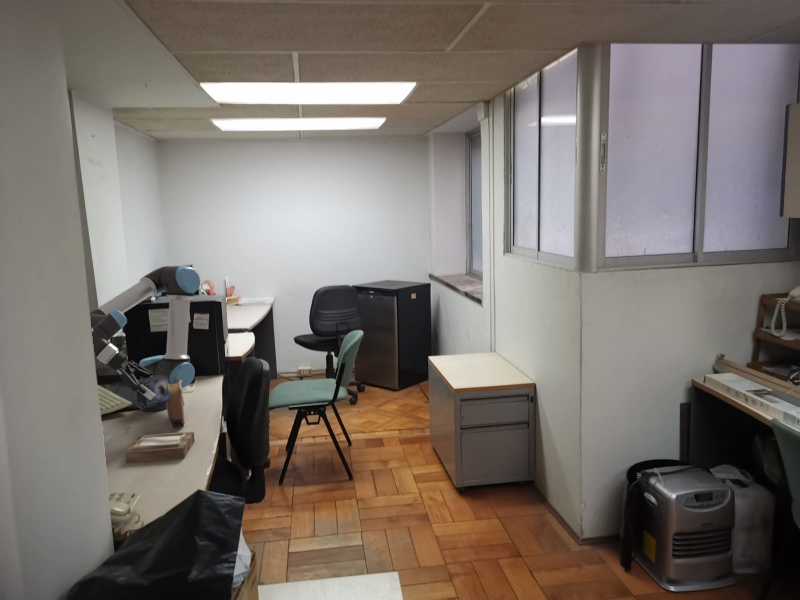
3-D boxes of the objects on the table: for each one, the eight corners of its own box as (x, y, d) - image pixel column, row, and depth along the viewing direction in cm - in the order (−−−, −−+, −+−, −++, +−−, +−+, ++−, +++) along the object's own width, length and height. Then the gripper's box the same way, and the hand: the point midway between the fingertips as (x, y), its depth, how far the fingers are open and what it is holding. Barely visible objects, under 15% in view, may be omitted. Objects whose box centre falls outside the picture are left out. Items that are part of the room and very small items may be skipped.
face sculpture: (186, 428, 246) (183, 389, 244) (168, 431, 244) (164, 391, 242) (185, 413, 265) (182, 377, 262) (168, 416, 263) (165, 379, 260)
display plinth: (141, 445, 230) (139, 433, 229) (194, 441, 232) (193, 429, 231) (126, 462, 214) (124, 450, 213) (184, 458, 216) (182, 445, 215)
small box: (146, 409, 233) (143, 383, 231) (137, 406, 237) (134, 380, 235) (170, 401, 241) (168, 376, 240) (161, 398, 245) (158, 374, 243)
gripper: (117, 357, 247) (160, 390, 250) (94, 372, 223) (141, 409, 227) (129, 343, 246) (172, 377, 250) (107, 358, 223) (154, 395, 227)
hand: (157, 392), depth 238 cm, fingers closed on small box, 11 cm apart
